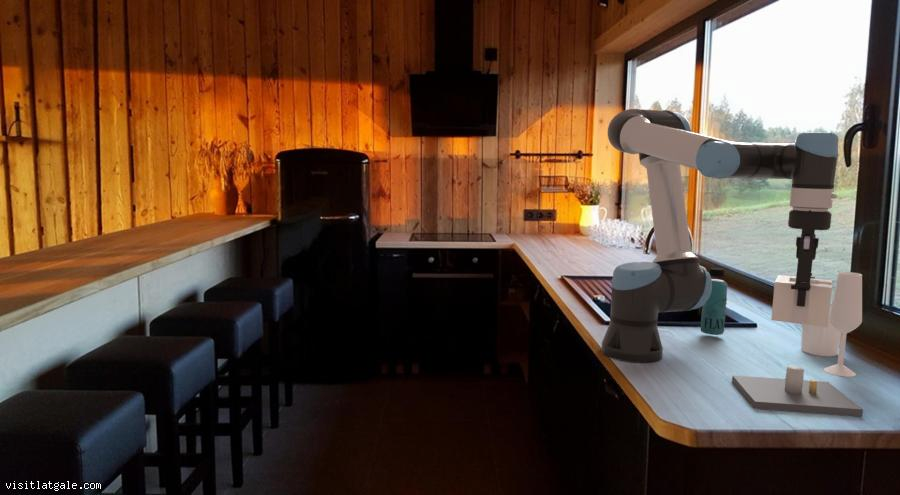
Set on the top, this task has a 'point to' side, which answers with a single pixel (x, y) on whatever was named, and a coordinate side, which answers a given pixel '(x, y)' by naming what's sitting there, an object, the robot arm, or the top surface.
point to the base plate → (795, 394)
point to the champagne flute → (845, 314)
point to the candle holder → (820, 340)
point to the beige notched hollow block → (817, 301)
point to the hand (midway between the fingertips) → (800, 316)
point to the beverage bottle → (715, 305)
